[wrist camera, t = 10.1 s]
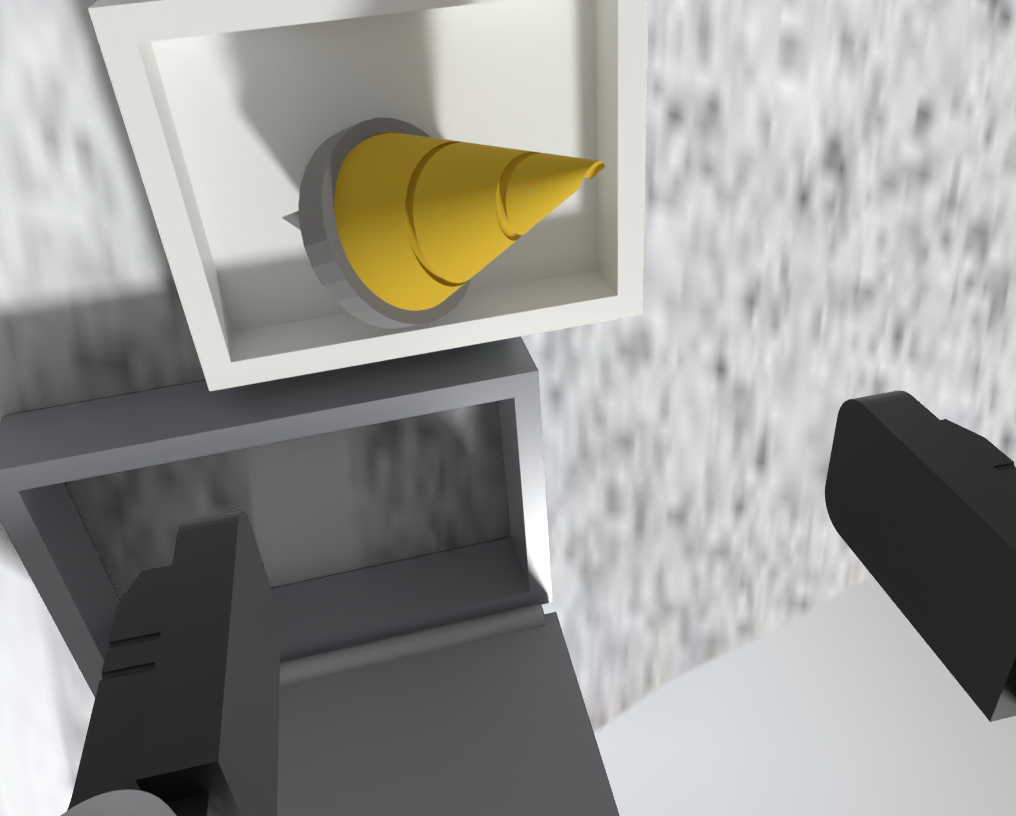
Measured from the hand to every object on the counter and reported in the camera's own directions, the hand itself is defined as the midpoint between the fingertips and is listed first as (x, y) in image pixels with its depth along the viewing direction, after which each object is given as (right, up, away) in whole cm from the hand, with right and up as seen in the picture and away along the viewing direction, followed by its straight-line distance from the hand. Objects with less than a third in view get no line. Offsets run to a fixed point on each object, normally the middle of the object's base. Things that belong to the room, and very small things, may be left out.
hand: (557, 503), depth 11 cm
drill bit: (-4, +8, +13) cm, 16 cm away
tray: (-4, +8, +13) cm, 16 cm away
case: (-8, -2, +18) cm, 20 cm away
